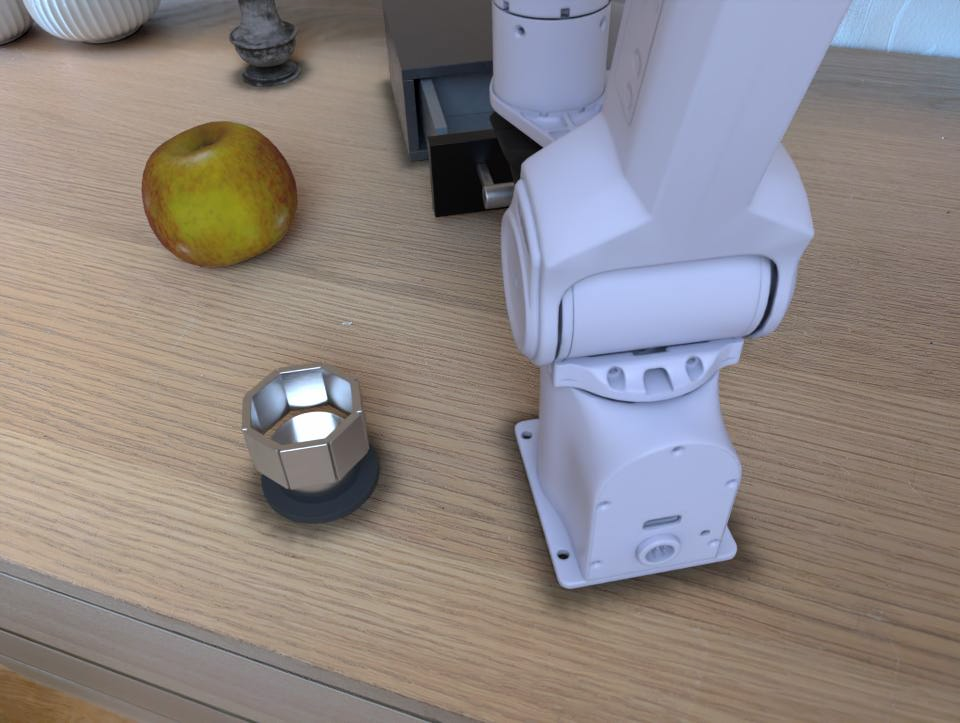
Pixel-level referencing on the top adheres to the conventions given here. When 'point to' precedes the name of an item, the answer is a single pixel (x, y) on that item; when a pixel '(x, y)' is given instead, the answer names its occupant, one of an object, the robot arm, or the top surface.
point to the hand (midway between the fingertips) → (543, 233)
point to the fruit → (218, 194)
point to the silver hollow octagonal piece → (307, 431)
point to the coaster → (328, 509)
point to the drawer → (463, 145)
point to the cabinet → (433, 51)
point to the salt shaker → (265, 44)
